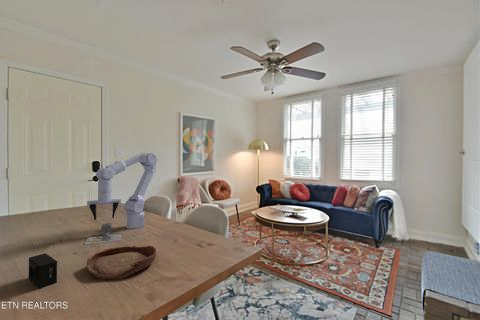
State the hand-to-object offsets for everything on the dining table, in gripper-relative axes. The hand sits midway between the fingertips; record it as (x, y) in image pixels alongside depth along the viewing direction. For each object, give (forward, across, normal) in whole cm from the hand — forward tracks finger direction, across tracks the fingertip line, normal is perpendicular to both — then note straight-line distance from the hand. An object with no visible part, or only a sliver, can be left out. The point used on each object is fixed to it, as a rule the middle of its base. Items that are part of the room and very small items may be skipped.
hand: (104, 218), depth 112 cm
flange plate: (+9, -1, +8) cm, 12 cm away
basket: (+9, -8, +39) cm, 41 cm away
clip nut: (+8, -1, +1) cm, 8 cm away
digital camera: (+9, +15, +39) cm, 43 cm away
